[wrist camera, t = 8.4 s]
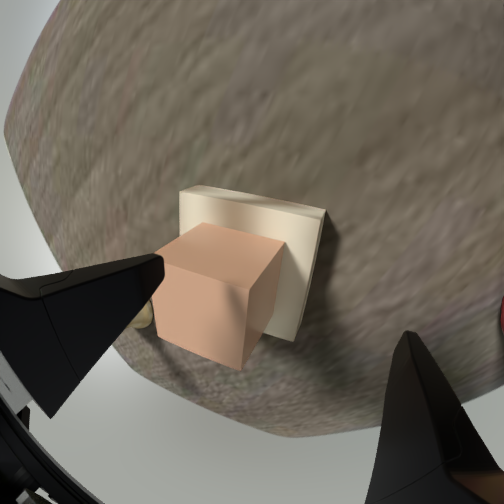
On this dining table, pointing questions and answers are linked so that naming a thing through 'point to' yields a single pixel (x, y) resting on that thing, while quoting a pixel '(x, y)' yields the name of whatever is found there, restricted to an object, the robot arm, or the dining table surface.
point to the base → (271, 226)
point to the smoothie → (502, 316)
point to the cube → (217, 292)
